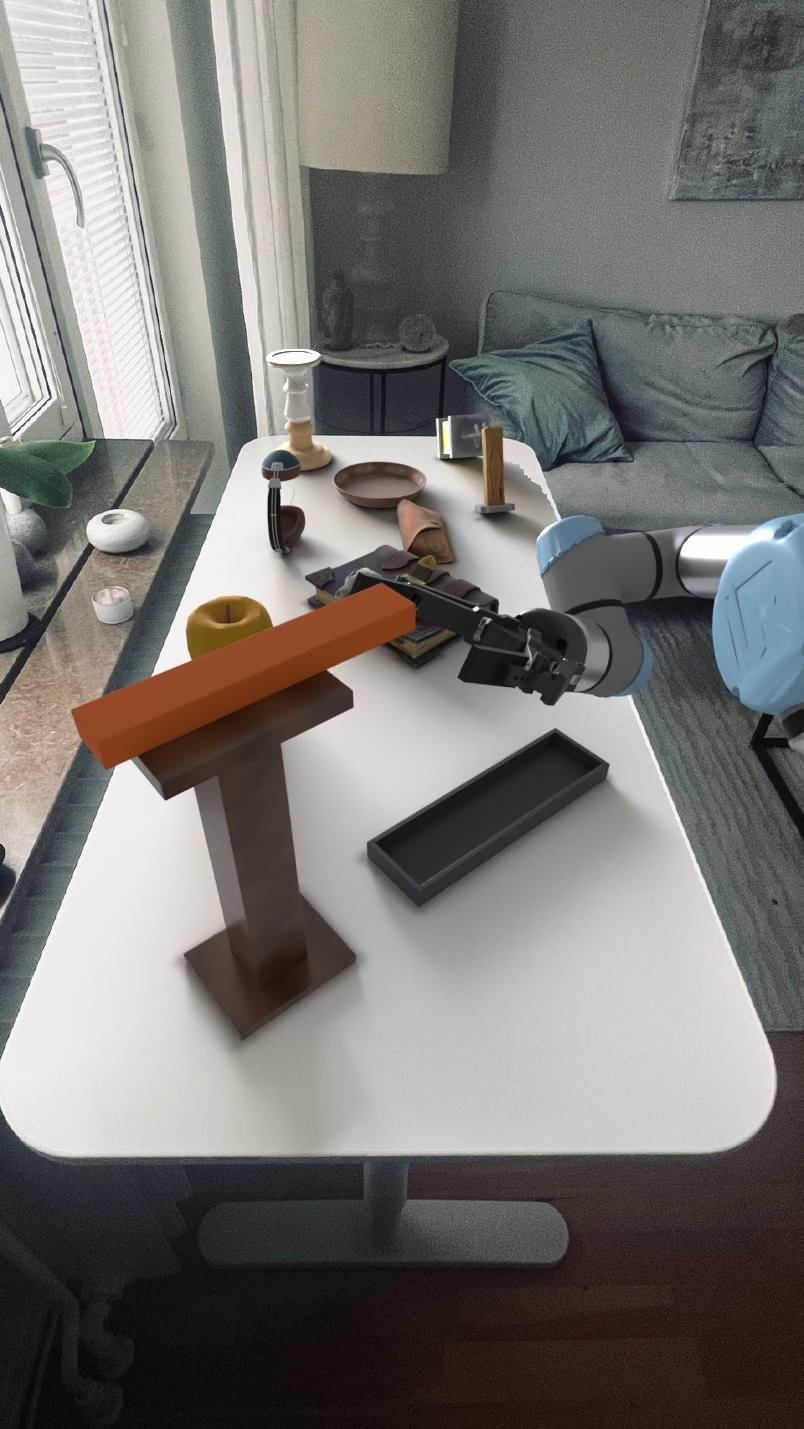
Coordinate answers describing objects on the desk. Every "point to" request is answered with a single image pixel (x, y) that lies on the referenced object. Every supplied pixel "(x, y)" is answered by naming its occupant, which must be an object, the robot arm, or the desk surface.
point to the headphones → (281, 519)
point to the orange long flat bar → (239, 674)
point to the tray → (485, 815)
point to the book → (389, 565)
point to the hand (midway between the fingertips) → (407, 623)
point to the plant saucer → (379, 483)
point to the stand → (255, 852)
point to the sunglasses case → (423, 532)
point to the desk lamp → (477, 453)
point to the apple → (224, 623)
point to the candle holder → (299, 407)
